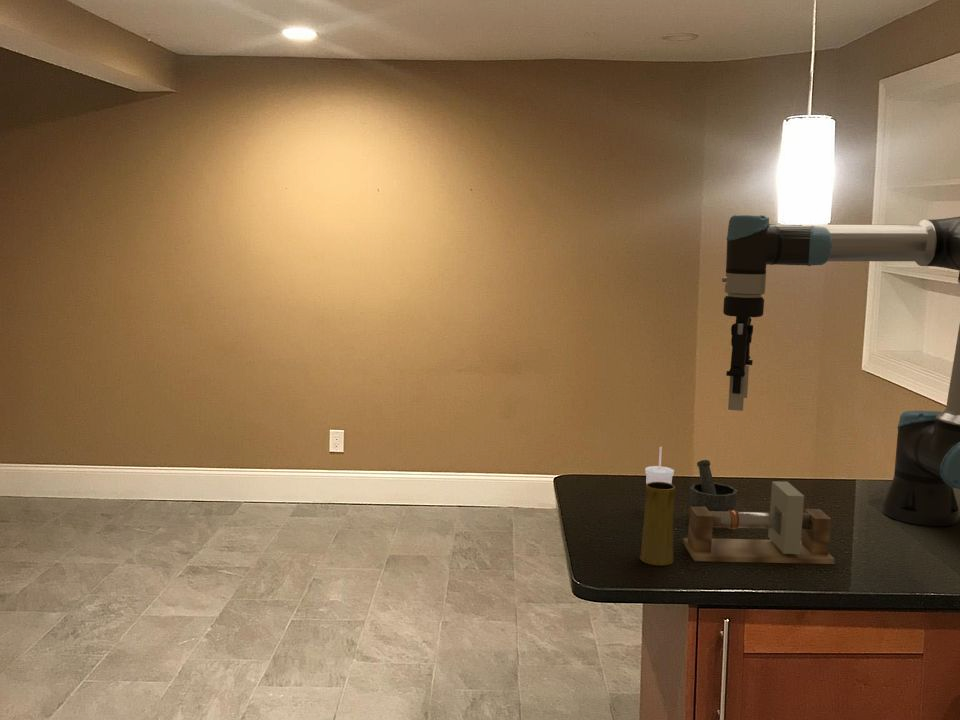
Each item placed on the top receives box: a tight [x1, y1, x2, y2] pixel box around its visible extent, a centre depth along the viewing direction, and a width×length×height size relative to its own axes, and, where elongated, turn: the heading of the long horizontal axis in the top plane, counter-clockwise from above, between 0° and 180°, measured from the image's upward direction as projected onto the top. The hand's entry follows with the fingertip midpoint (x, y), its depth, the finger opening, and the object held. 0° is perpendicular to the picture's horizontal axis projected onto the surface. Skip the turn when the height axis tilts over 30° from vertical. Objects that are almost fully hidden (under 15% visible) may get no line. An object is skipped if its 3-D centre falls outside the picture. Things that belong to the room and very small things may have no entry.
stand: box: [682, 505, 836, 565], centre depth 186 cm, size 26×10×8 cm, turn 91°
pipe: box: [709, 509, 812, 530], centre depth 185 cm, size 23×4×4 cm, turn 91°
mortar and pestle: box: [689, 459, 739, 511], centre depth 205 cm, size 11×9×12 cm
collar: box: [767, 481, 805, 554], centre depth 185 cm, size 3×10×11 cm, turn 1°
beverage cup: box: [644, 446, 675, 486], centre depth 211 cm, size 6×6×14 cm
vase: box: [639, 482, 676, 567], centre depth 180 cm, size 6×6×14 cm
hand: (737, 403), depth 193 cm, fingers open, 13 cm apart
